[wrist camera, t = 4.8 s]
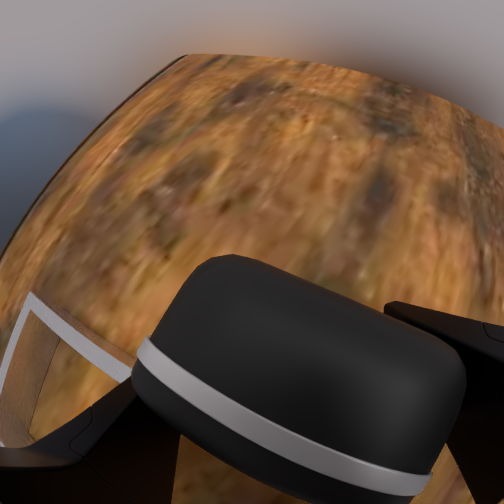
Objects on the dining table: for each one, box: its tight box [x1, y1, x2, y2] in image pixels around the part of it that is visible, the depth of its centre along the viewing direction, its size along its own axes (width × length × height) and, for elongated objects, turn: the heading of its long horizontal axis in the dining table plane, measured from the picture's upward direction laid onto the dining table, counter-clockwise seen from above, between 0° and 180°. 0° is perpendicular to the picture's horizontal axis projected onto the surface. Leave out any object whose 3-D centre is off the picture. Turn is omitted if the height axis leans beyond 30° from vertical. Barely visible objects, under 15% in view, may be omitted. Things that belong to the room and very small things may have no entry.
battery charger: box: [131, 254, 467, 504], centre depth 9 cm, size 7×4×11 cm, turn 60°
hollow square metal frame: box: [0, 291, 137, 448], centre depth 13 cm, size 12×13×4 cm
